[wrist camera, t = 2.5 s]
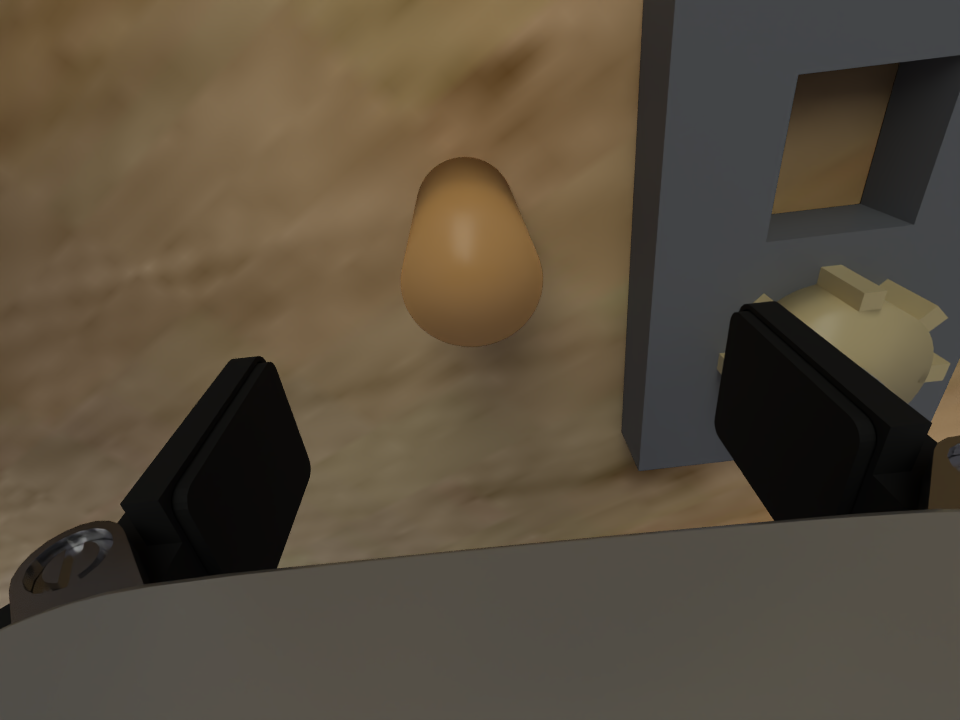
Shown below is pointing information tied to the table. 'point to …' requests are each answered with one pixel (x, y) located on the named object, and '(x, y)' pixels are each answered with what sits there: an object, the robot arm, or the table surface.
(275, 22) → the table surface
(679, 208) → the housing
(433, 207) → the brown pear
